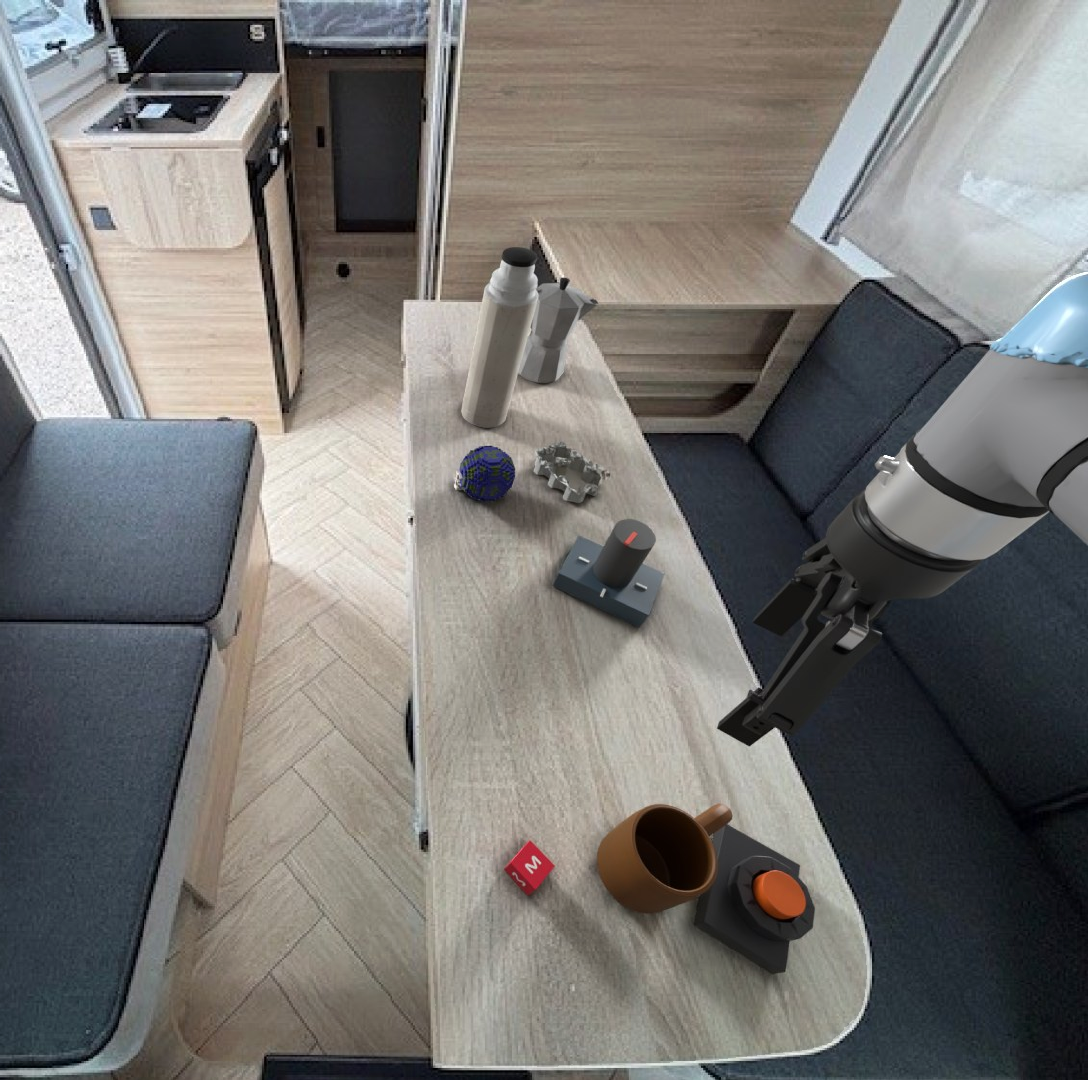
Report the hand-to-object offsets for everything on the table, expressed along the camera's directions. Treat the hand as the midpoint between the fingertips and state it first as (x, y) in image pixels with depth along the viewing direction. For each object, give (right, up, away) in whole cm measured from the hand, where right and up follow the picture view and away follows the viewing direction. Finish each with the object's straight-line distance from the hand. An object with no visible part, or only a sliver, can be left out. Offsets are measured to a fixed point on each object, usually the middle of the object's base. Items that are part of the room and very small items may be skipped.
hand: (751, 677), depth 55 cm
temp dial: (-3, +8, +24) cm, 25 cm away
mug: (-7, -19, +5) cm, 21 cm away
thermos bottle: (-15, +35, +50) cm, 63 cm away
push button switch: (+1, -22, +3) cm, 22 cm away
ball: (-18, +20, +37) cm, 46 cm away
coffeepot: (-4, +46, +59) cm, 75 cm away
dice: (-20, -20, +4) cm, 29 cm away
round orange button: (+2, -20, -1) cm, 20 cm away
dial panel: (-3, +6, +26) cm, 27 cm away
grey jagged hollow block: (-4, +22, +40) cm, 46 cm away
